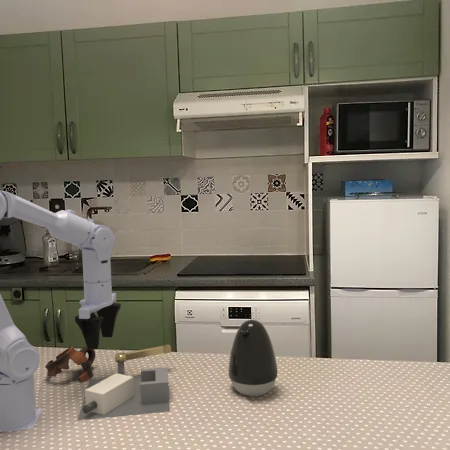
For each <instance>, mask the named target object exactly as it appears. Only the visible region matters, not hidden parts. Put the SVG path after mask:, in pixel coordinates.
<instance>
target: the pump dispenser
mask: <svg viewBox="0 0 450 450" xmlns="http://www.w3.org/2000/svg"><path fill="white" fill-rule="evenodd" d="M277 365H278V364H277V358H276V355H275V350H274V346H273V343H272V340H271V338H270V335H269V333H268V331H267V329H266V328H265V326H264V324H262V322H260V321H259V320H255V319H248V320H245V321H244V322H242V323H241V325H240V326H239V328H238V330H237V331H236V334H235V336H234V339H233V342H232V346H231V349H230V355H229V363H228V368H227V369H228V374H227V375H228V378H229V379H230V383H231V385H232V387H233V388H234V389H235V390H236V392H238V393H239V394H241V395H244V396H247V397H250V398H251V397H253V398H255V397H261V396H263V395H265V394H267V393H269V392H270V391H271V390H272V389H273V387H274V385H275V383H276V379H277V378H278V366H277Z"/></svg>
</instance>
